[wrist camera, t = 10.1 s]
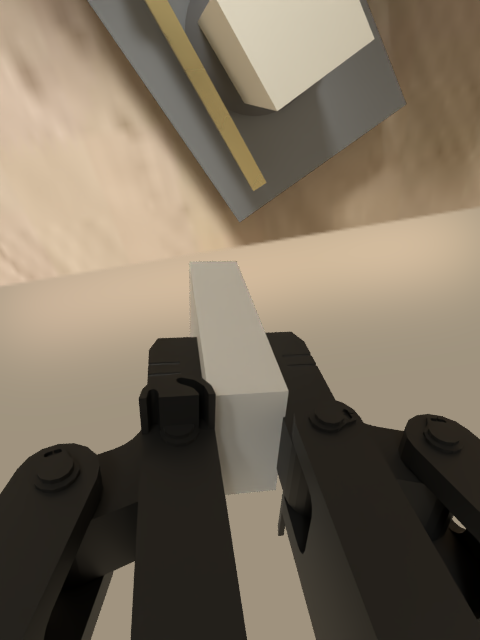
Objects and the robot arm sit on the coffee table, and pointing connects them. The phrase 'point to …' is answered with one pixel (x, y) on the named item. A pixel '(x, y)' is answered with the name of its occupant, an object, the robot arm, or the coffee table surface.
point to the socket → (266, 130)
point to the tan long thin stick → (205, 90)
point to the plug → (272, 47)
